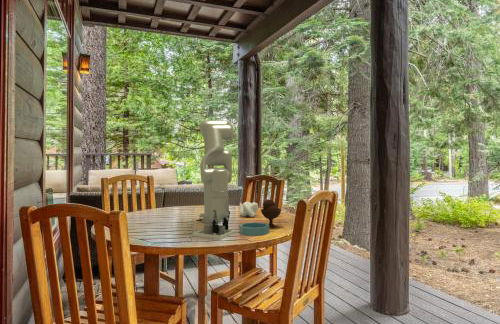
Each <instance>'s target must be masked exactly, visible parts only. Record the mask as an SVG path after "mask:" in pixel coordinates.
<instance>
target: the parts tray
mask: <svg viewBox="0 0 500 324" xmlns="http://www.w3.org/2000/svg"><path fill="white" fill-rule="evenodd" d="M235 234H236V235H237V230H235V229H228V230H225V234H223V235H220V236H219V235H216V233H213V234H212V235H211V234H204V228H203V229H201V230H198V231H195V232H192V237H195V238H206V239H213V240H223V239H226V238H228V237H230V236H233V235H235Z"/></svg>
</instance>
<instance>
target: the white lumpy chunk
mask: <svg viewBox="0 0 500 324" xmlns="http://www.w3.org/2000/svg"><path fill="white" fill-rule="evenodd" d="M258 210H259V203H257V202H250V201H245V202H243V203H242V204H241V205H240V208H239V214H240V216H241V217H247V216H249V217H251V218H254V217H255V215H256V214H257V212H258Z"/></svg>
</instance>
